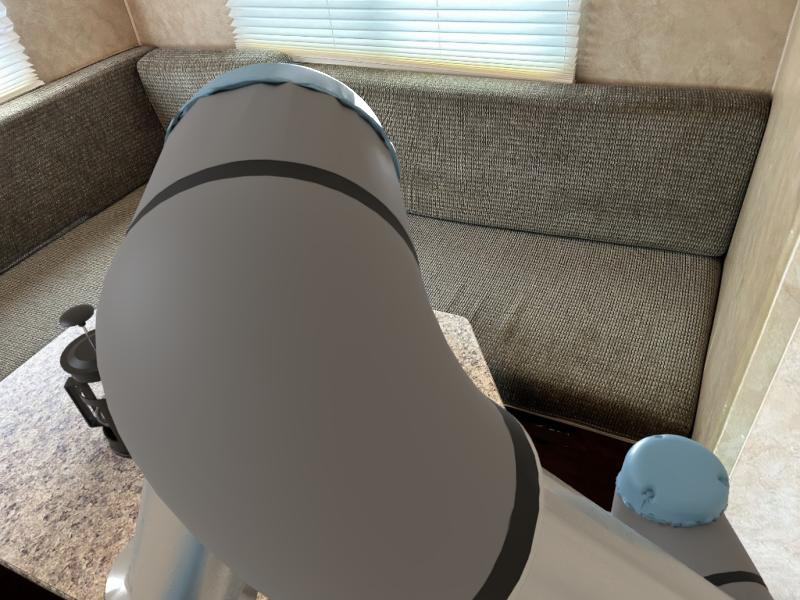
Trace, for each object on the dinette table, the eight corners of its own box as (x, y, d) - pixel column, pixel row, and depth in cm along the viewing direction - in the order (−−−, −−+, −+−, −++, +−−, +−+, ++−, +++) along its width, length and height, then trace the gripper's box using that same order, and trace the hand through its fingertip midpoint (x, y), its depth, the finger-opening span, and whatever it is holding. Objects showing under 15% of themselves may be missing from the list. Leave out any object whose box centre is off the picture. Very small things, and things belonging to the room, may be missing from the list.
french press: (186, 403, 93) (129, 284, 78) (171, 454, 85) (106, 333, 71) (110, 411, 93) (39, 294, 78) (89, 463, 85) (7, 344, 71)
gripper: (511, 622, 56) (301, 527, 65) (558, 486, 66) (371, 421, 76) (513, 583, 51) (287, 487, 61) (563, 443, 62) (364, 380, 71)
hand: (334, 451), depth 68 cm, fingers closed on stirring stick, 3 cm apart
